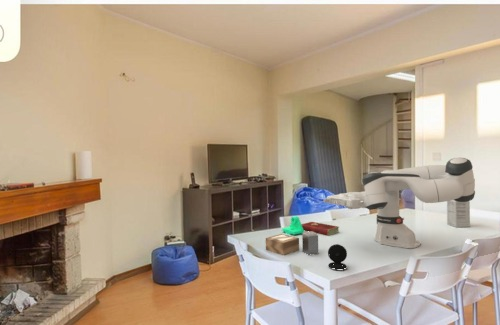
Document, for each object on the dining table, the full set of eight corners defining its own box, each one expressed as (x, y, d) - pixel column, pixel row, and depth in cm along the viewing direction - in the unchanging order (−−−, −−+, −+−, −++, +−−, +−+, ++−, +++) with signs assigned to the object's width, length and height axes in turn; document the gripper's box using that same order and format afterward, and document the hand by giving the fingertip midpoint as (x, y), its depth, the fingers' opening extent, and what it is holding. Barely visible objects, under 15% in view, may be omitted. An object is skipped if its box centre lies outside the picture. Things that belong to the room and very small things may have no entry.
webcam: (346, 265, 131) (346, 242, 131) (347, 271, 124) (347, 247, 123) (328, 264, 133) (327, 241, 133) (328, 270, 126) (327, 246, 125)
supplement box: (470, 227, 194) (470, 201, 194) (455, 227, 194) (455, 201, 194) (460, 223, 204) (460, 199, 203) (446, 224, 204) (446, 199, 204)
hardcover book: (328, 236, 179) (328, 229, 179) (300, 230, 195) (300, 224, 195) (339, 232, 187) (339, 226, 187) (311, 227, 203) (311, 221, 203)
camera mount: (281, 232, 190) (281, 216, 190) (291, 230, 194) (290, 214, 194) (293, 236, 180) (293, 219, 180) (303, 234, 184) (303, 217, 184)
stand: (299, 249, 154) (299, 237, 154) (283, 255, 146) (283, 242, 145) (281, 244, 163) (281, 233, 162) (265, 249, 154) (265, 237, 154)
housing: (312, 250, 152) (311, 230, 152) (318, 253, 147) (318, 233, 147) (302, 252, 150) (302, 232, 150) (308, 255, 145) (308, 234, 145)
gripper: (366, 209, 148) (343, 210, 143) (339, 204, 167) (318, 205, 162) (366, 196, 148) (343, 197, 143) (339, 192, 167) (318, 194, 162)
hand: (329, 201), depth 152 cm, fingers open, 8 cm apart
